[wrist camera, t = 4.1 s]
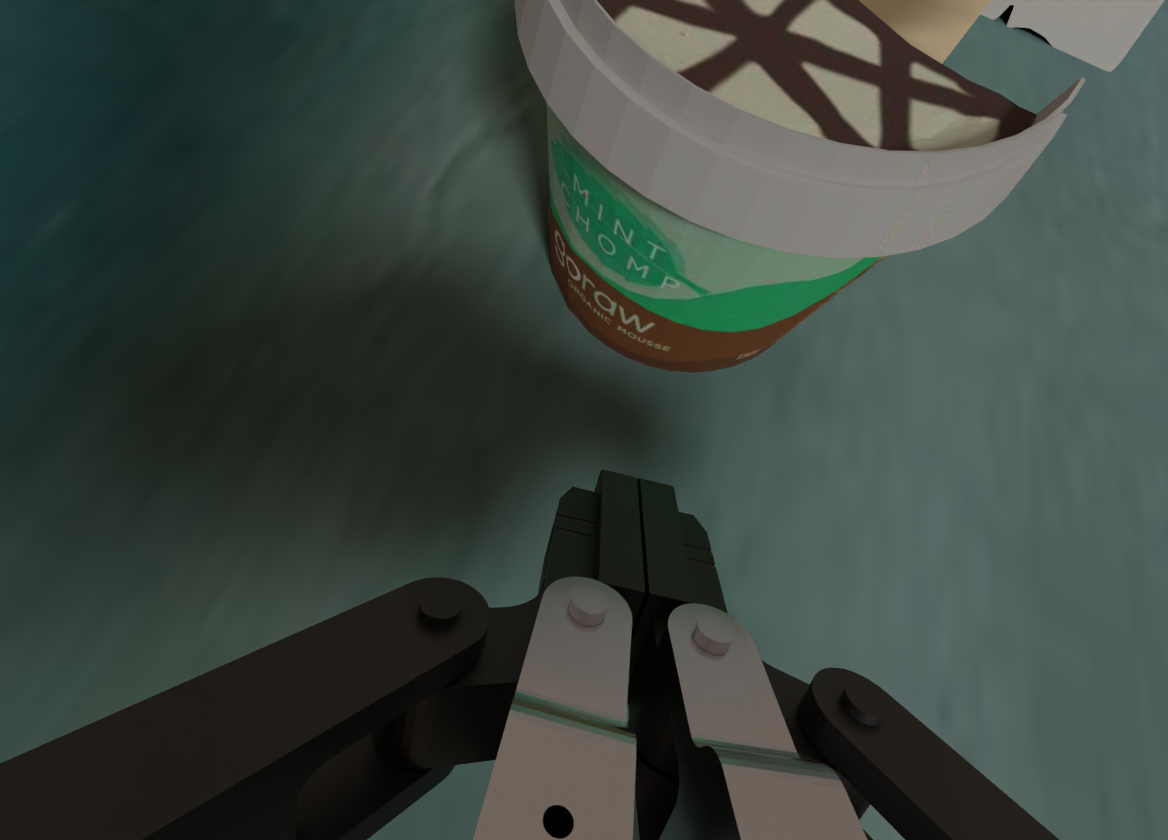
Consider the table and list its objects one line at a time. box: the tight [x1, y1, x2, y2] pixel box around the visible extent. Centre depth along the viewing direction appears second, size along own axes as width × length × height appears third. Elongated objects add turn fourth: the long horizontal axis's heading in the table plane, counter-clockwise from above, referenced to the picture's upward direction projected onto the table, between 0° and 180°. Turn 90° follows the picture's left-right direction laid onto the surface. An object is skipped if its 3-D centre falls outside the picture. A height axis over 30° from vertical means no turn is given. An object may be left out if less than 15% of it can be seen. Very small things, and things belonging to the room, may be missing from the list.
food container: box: [515, 0, 1086, 372], centre depth 15 cm, size 12×6×10 cm, turn 56°
